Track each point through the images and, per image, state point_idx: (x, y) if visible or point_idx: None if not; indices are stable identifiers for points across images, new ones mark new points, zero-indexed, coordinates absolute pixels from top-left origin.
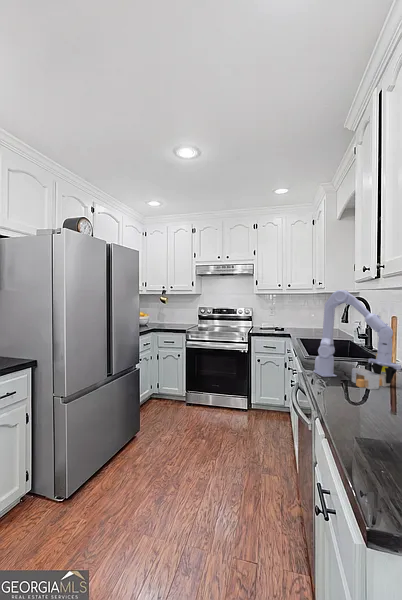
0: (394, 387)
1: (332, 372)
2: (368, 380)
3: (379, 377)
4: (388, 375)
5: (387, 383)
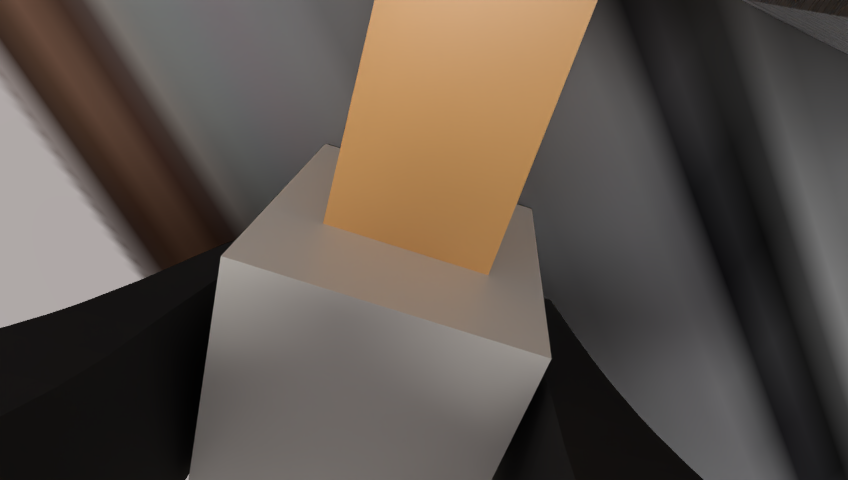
0: None
1: None
2: None
3: (404, 268)
4: (20, 322)
5: None
